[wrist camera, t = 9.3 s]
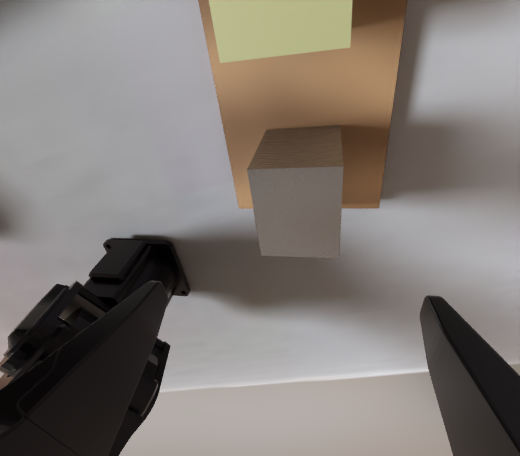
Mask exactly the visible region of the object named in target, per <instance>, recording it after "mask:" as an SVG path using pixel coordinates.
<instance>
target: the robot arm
mask: <svg viewBox="0 0 520 456" xmlns="http://www.w3.org/2000/svg"><path fill="white" fill-rule="evenodd" d="M103 246H104V248H105V250H106V251H107V253H106V255H105V256H104V257H103V258H102V259H101V260H100V261H99V263H98V264H97V265H96V266H95V267H94V268H93V269H92V271H91V272H90V273H89V277H90V279H89V280H88V281H87V282H86V283H85V284H84V286H83V285H82V284H80V283H79V282H77V281H76V282H75V283H73V284H72V285H71V286H70V287H69V286H67V285H66V286H65V285H60V284H56V285H55V286H54V287H53V288H52V289H51V290H50V291H49V292H48V293H47V294H46V295H45V296H44V297H43V298H42V299H41V300H40V301H39V303H38V304H37V305H36V306H35V307H34V308H33V309H32V310H31V311H30V312H29V313H28V315H27V316H26V317H25V318H24V319H23V320H22V321H21V322H20V324H19V325H18V326H17V327H16V328H15V329H14V330H13V331H12V333H11V334H10V335H9V336H8V350H7V351H6V352H5V354H4V356H5V357H4V358H3V360H2V361H1V362H0V371H1V372H2V373H4V375H3V376H2V377H1V378H0V456H119V454H120V452H121V451H122V449H123V448H124V446H125V445H126V443H127V442H128V440H129V439H130V437H131V436H132V434H133V433H134V432H135V431H136V430H137V428H138V427H139V426H140V425H141V423H142V422H143V421H144V420H145V419H146V417H147V415H148V414H149V413H150V411H151V409H152V407H153V406H154V404H155V401H156V399H157V396H158V393H159V390H160V386H161V382H162V378H163V374H164V369H165V365H166V361H167V357H168V353H169V349H170V345H169V344H168V343H166V342H163V341H161V340H160V339H158V338H157V336H158V332H159V329H160V326H161V323H162V319H163V316H164V313H165V309H166V307H167V305H168V303H169V302H170V300H171V298H172V296H173V295H177V296H188V294H189V292H190V288H189V286H188V283H187V281H186V278H185V275H184V273H183V270H182V268H181V265H180V263H179V260H178V257H177V255H176V252H175V250H174V247H173V245H172V244H171V243H170V242H168V241H151V240H112V239H109V240H106V241H105V242H104V244H103ZM82 286H83V287H82ZM60 317H61V318H62V319H61V318H60ZM63 319H64V320H63ZM420 321H421V327H422V334H423V340H424V346H425V352H426V358H427V364H428V369H429V372H430V376H431V380H432V383H433V387H434V390H435V394H436V397H437V400H438V404H439V408H440V411H441V415H442V418H443V422H444V425H445V428H446V432H447V435H448V439H449V442H450V446H451V449H452V452H453V456H520V376H519V375H518V373H517V372H516V371H515V370H514V369H513V368H511V367H510V365H509V364H508V363H507V362H506V361H505V360H504V359H503V358H502V357H501V356H500V355H499V354H498V353H497V352H496V351H495V350H494V349H493V348H492V347H491V346H490V345H489V344H488V343H487V342H486V341H485V340H484V339H483V338H482V337H481V336H480V335H479V334H478V333H477V332H476V331H475V330H474V329H473V328H472V327H471V326H470V325H469V324H468V323H467V322H466V321H465V320H464V319H463V318H462V317H461V316H460V315H459V314H458V313H457V312H456V311H455V310H454V309H453V308H452V307H451V306H450V305H449V304H448V303H447V302H446V301H445V300H444V299H443V298H442V297H440V296H426V297H425V299H424V302H423V305H422V308H421V311H420Z"/></svg>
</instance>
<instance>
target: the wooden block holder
mask: <svg viewBox="0 0 520 456" xmlns="http://www.w3.org/2000/svg"><path fill="white" fill-rule="evenodd" d="M198 1H199V6H200V11H201V17H202V22H203V27H204V32H205V37H206V42H207V47H208V52H209V57H210V62H211V67H212V72H213V78H214V83H215V88H216V93H217V98H218V103H219V108H220V113H221V118H222V123H223V128H224V134H225V139H226V144H227V149H228V154H229V159H230V164H231V169H232V174H233V179H234V184H235V189H236V195H237V200H238V205H239V208H253V203H252V197H251V191H250V185H249V179H248V173H247V168H248V166H249V164H250V162H251V160H252V158H253V156H254V154H255V152H256V150H257V148H258V146H259V144H260V142H261V140H262V138H263V136H264V133H265V131H266V129H282V128H298V127H314V126H331V125H340V129H341V142H342V155H343V186H342V207H341V208H379V203H380V196H381V189H382V181H383V174H384V167H385V159H386V152H387V145H388V137H389V130H390V123H391V115H392V108H393V101H394V93H395V86H396V79H397V71H398V64H399V57H400V49H401V42H402V35H403V27H404V20H405V13H406V5H407V0H353V1H352V23H351V44H350V48H342V49H334V50H326V51H317V52H309V53H300V54H292V55H284V56H275V57H267V58H259V59H250V60H242V61H233V62H225V63H220V60H219V55H218V49H217V44H216V38H215V33H214V27H213V22H212V16H211V11H210V5H209V0H198Z"/></svg>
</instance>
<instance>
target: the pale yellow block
mask: <svg viewBox="0 0 520 456" xmlns="http://www.w3.org/2000/svg"><path fill="white" fill-rule="evenodd" d="M352 1H353V0H209V5H210V11H211V16H212V22H213V27H214V33H215V38H216V44H217V49H218V55H219V60H220V63H225V62H233V61H242V60H250V59H259V58H267V57H275V56H284V55H292V54H300V53H309V52H317V51H326V50H334V49H342V48H350V44H351V23H352Z"/></svg>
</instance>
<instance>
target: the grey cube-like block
mask: <svg viewBox="0 0 520 456" xmlns="http://www.w3.org/2000/svg"><path fill="white" fill-rule="evenodd" d="M247 173H248V179H249V185H250V191H251V197H252V203H253V209H254V216H255V222H256V228H257V234H258V240H259V246H260V252H261V256H284V257H312V258H339V250H340V229H341V207H342V186H343V155H342V142H341V129H340V125H331V126H314V127H298V128H282V129H266V131H265V133H264V136H263V138H262V140H261V142H260V144H259V146H258V148H257V150H256V152H255V154H254V156H253V158H252V160H251V162H250V164H249V166H248V168H247Z"/></svg>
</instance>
